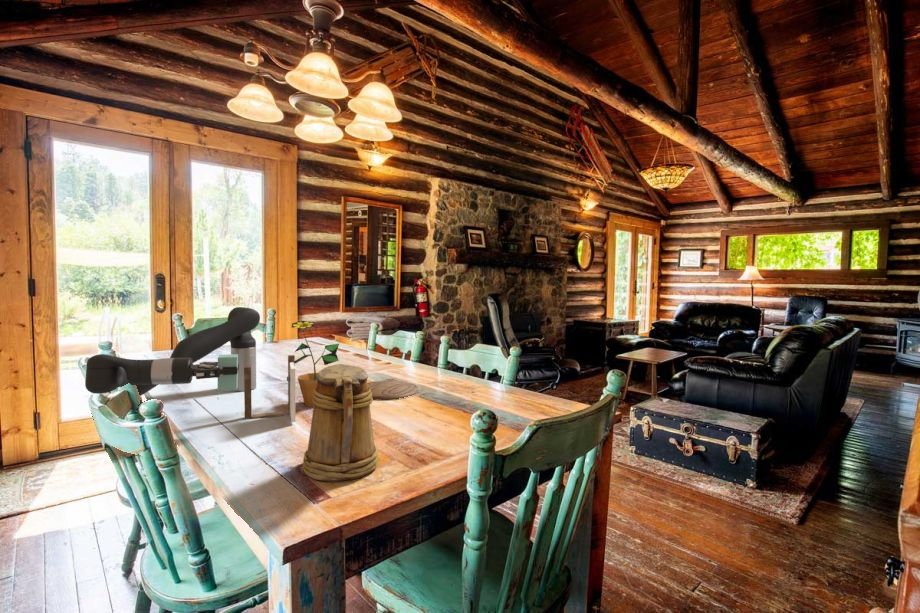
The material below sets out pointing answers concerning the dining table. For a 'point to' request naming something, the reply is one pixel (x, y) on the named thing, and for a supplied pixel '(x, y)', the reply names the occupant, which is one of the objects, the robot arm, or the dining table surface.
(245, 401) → the door frame
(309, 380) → the potted plant
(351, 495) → the dining table surface
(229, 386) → the teal block
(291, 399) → the cream door
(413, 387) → the trivet
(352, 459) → the tankard
